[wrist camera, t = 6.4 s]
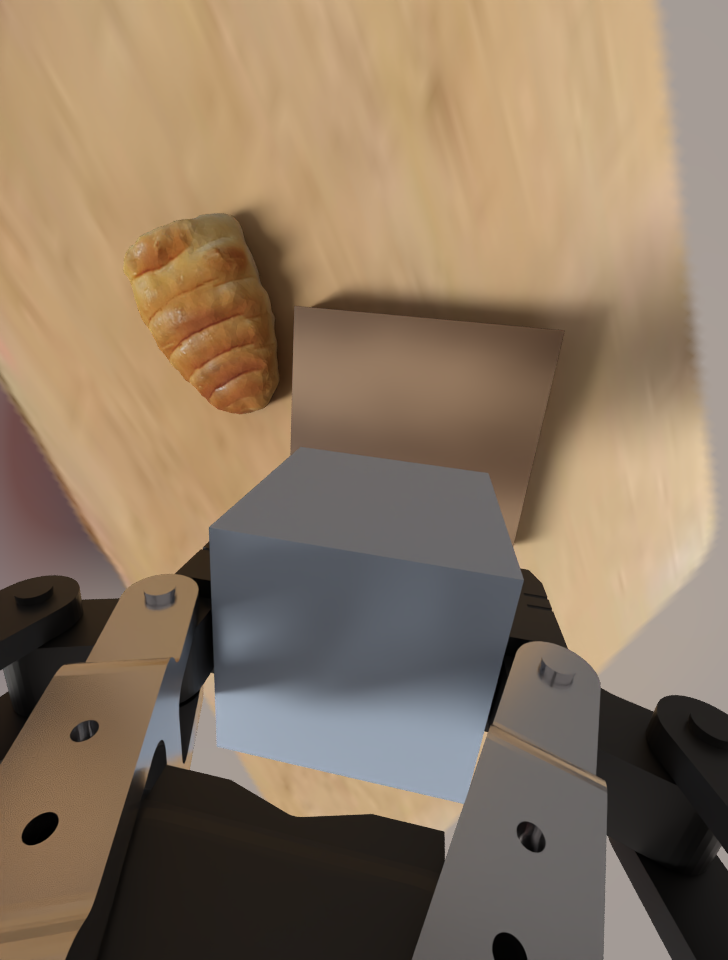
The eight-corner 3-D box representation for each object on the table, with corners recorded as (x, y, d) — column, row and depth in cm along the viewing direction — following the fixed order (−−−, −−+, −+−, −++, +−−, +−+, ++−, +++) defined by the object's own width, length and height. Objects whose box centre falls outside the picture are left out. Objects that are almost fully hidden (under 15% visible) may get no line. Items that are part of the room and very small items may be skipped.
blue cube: (300, 447, 12) (209, 527, 7) (488, 473, 11) (523, 579, 6) (293, 601, 13) (217, 746, 9) (455, 630, 13) (464, 804, 8)
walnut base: (312, 307, 23) (294, 305, 20) (548, 329, 21) (564, 330, 18) (304, 513, 27) (288, 535, 24) (500, 543, 25) (507, 570, 23)
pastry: (315, 386, 24) (293, 397, 20) (216, 426, 26) (179, 443, 22) (239, 206, 21) (199, 183, 18) (135, 266, 23) (80, 256, 20)
